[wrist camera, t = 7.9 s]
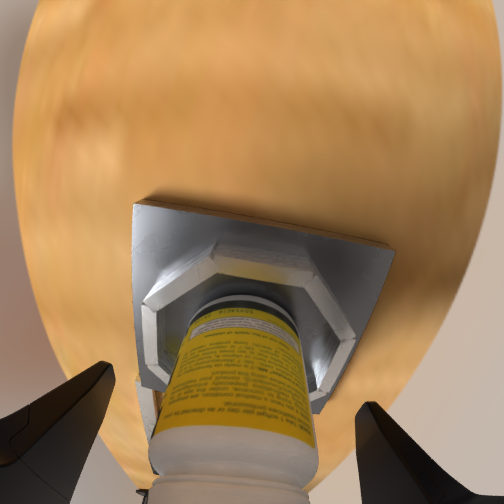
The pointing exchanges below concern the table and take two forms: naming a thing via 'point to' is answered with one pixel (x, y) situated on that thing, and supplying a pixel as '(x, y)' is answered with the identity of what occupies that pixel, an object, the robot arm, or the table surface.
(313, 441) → the supplement bottle
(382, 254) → the grey handled tray
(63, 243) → the table surface
